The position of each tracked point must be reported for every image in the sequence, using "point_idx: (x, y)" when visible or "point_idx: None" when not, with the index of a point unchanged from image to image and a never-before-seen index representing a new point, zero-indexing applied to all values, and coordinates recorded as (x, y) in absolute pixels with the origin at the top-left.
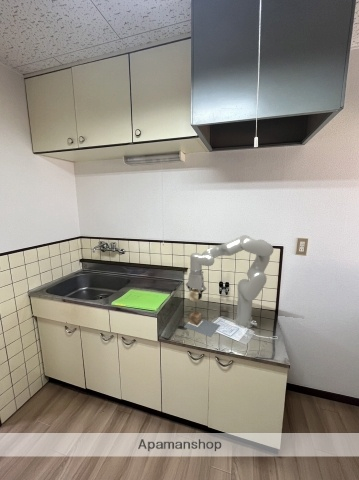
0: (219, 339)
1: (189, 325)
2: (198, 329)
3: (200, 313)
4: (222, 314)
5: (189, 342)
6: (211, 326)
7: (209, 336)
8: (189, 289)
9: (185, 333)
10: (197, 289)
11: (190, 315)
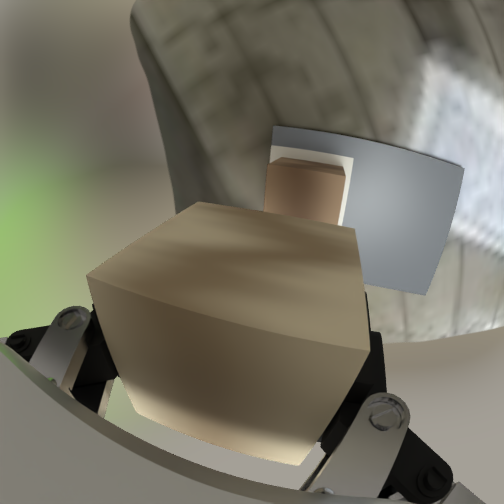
0: (461, 283)
1: None
2: None
3: (336, 179)
4: (431, 28)
5: None
6: (419, 200)
7: (418, 293)
8: (88, 378)
9: None
10: (195, 320)
11: None
